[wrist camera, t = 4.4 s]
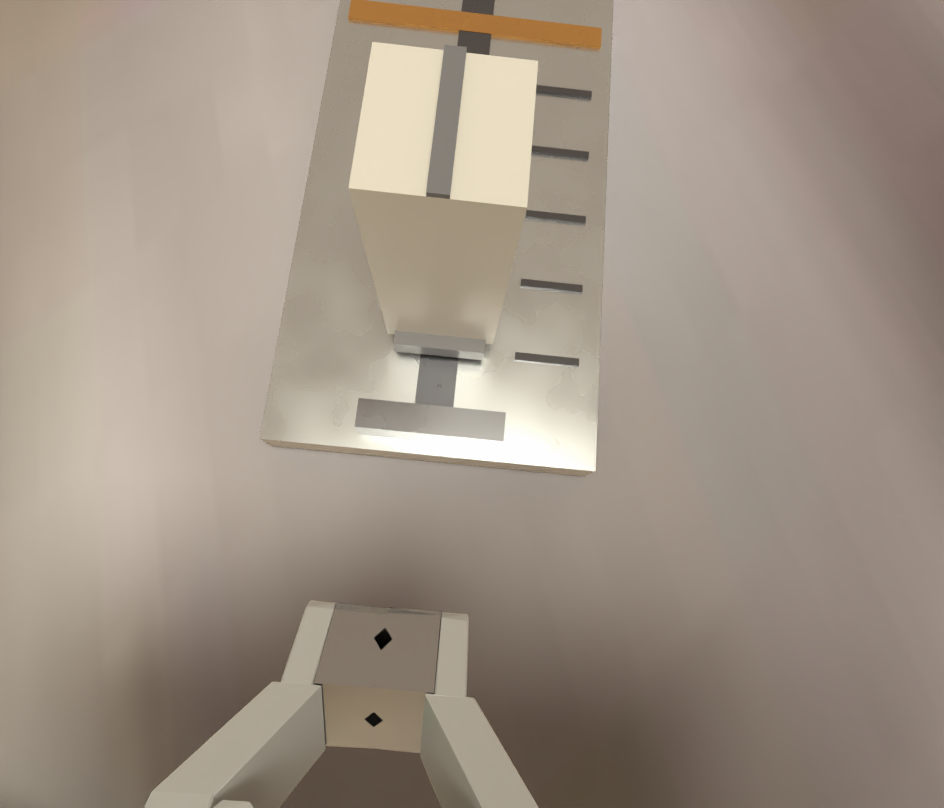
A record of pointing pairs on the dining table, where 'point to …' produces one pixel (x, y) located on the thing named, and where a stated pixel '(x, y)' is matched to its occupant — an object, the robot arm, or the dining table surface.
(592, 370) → the board
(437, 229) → the fader tab
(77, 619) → the dining table surface
